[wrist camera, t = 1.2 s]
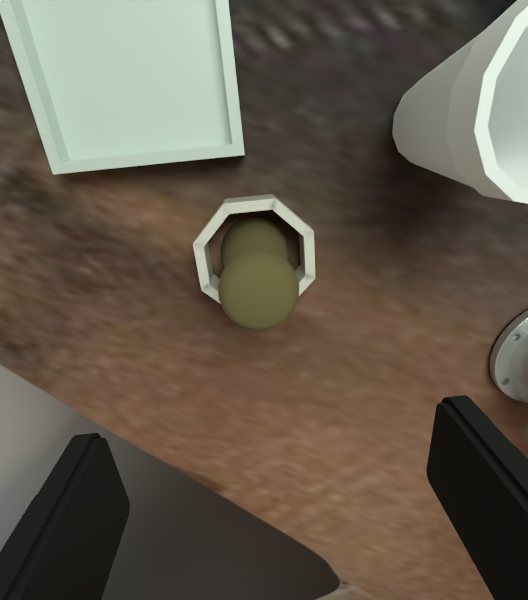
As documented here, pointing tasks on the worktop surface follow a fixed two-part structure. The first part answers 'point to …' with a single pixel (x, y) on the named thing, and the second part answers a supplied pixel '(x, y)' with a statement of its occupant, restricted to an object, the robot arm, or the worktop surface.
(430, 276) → the worktop surface
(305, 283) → the collar
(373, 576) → the worktop surface
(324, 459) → the worktop surface
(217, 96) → the tray
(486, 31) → the foam cup
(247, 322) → the cork
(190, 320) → the worktop surface
